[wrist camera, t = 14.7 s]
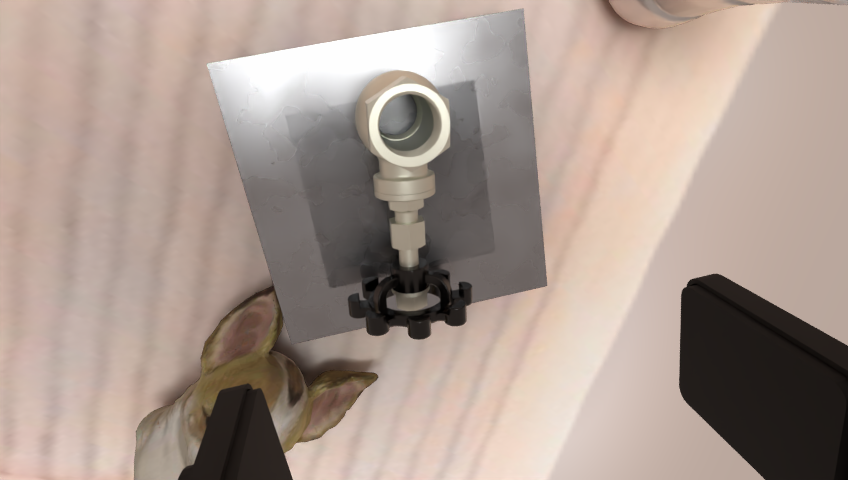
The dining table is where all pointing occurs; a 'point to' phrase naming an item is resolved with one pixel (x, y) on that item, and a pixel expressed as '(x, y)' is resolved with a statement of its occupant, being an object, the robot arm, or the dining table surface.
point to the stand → (355, 165)
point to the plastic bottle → (684, 9)
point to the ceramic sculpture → (236, 365)
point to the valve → (407, 209)
